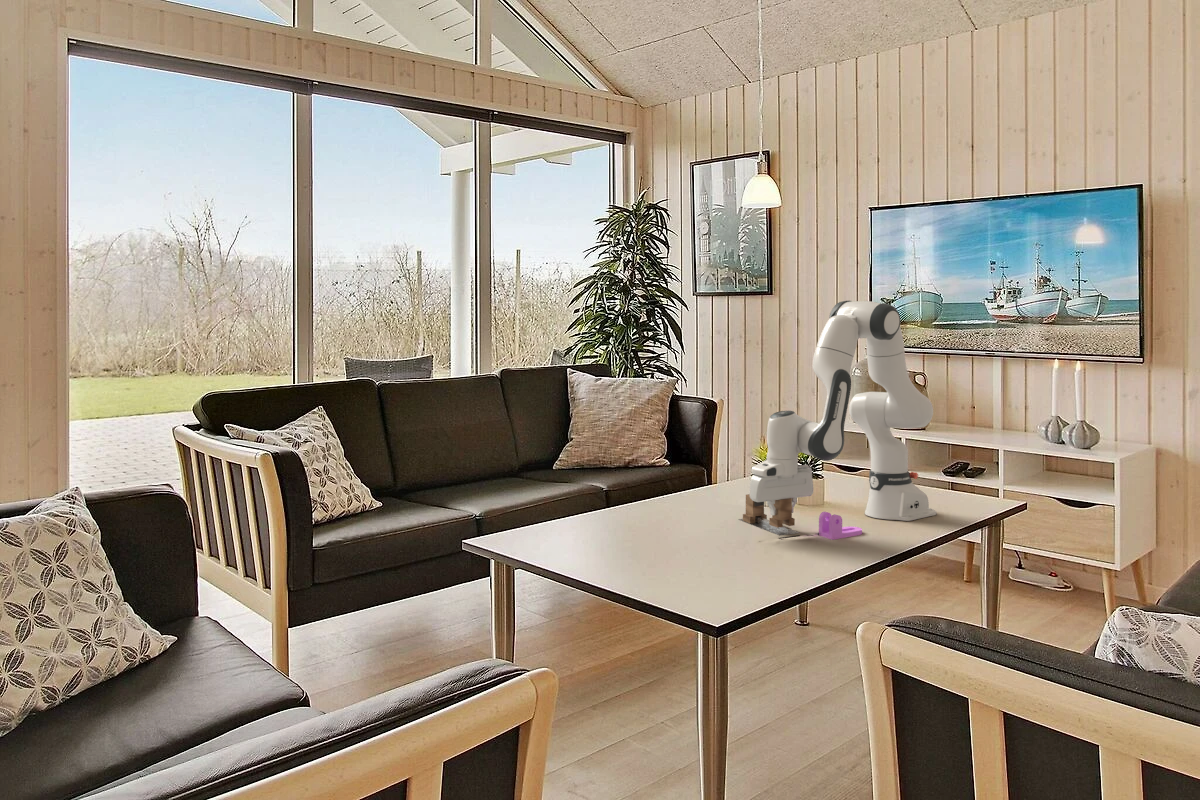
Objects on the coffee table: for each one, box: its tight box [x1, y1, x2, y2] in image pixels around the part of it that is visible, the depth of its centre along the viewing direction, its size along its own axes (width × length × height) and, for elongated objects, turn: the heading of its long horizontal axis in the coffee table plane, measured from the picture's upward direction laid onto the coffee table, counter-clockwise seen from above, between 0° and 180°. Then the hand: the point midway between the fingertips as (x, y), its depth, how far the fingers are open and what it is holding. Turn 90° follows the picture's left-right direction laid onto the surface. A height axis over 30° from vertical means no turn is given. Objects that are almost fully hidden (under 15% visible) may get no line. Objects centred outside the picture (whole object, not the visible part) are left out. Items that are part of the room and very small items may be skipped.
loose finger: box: [768, 498, 796, 528], centre depth 259 cm, size 6×5×8 cm
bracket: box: [818, 511, 863, 541], centre depth 258 cm, size 13×6×7 cm, turn 118°
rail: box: [738, 516, 801, 540], centre depth 266 cm, size 7×22×2 cm, turn 23°
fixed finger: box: [742, 493, 768, 524], centre depth 272 cm, size 6×5×8 cm
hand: (781, 513), depth 259 cm, fingers closed on loose finger, 4 cm apart
